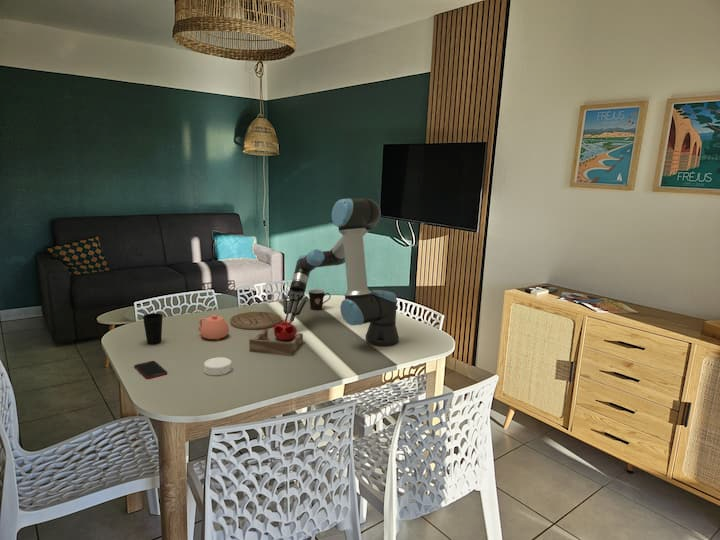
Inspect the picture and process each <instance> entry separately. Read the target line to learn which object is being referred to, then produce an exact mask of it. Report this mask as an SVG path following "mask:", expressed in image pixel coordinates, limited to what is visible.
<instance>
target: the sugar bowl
mask: <svg viewBox="0 0 720 540" xmlns="http://www.w3.org/2000/svg"><path fill="white" fill-rule="evenodd" d="M198 321H199V322H198V323H199V327H198V329H197V330H198V331H199V332H200V335H201V336H202V337H203V338H204V339H205V340H215V341H218V340H221V339H223V338H225V337H227V335H228V334H229V332H230V329H229V325H228V323H227V321H226V320H225V319H224V317H223V316H218V314H212V315H211V316H208V317H202V318H200V319H199V320H198ZM202 321H204V322H202Z"/></svg>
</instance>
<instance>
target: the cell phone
mask: <svg viewBox="0 0 720 540" xmlns="http://www.w3.org/2000/svg"><path fill="white" fill-rule="evenodd" d="M133 367H134V369H135V370H136V371H137V372H138V373H139V374H140V375H141V376H142V377H143V378H144V379H145V380H151V379H155V378H159V377H163V376H167V375H169V374H168V371H167V370H166V369H165V368H163V367H162V366H161V365H160V364H159V363H158V362H156V361H155V360H150V361H145V362H142V363H137V364H134V365H133Z"/></svg>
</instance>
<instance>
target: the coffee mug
mask: <svg viewBox="0 0 720 540" xmlns="http://www.w3.org/2000/svg"><path fill="white" fill-rule="evenodd" d="M326 295H329V297H328V298H327V299H326V300H325V301H324V298H325V296H326ZM331 297H332V296H331V294H330V293H329V292H325V290H323V289H317V288H316V289H310V290H308V299H309V307H310V308H309V309H310V310H312V311H321V310H322V309H323V306H324V304H325V303H326V302H328V301H329V300H331Z"/></svg>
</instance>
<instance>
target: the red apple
mask: <svg viewBox="0 0 720 540" xmlns="http://www.w3.org/2000/svg"><path fill="white" fill-rule="evenodd" d="M289 321H290V320H289ZM287 322H288V321H287V319H285V318H284V320H282V319H281V322H280V324H277V325H275V327H273V333H274V336H275V339H277V340H279V341H290V340H294V338H295V337H296V333H297V327H296V326H295V325H293V322H294V321H293V322H288V323H287ZM278 323H279V322H278ZM290 323H291V324H290Z"/></svg>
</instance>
